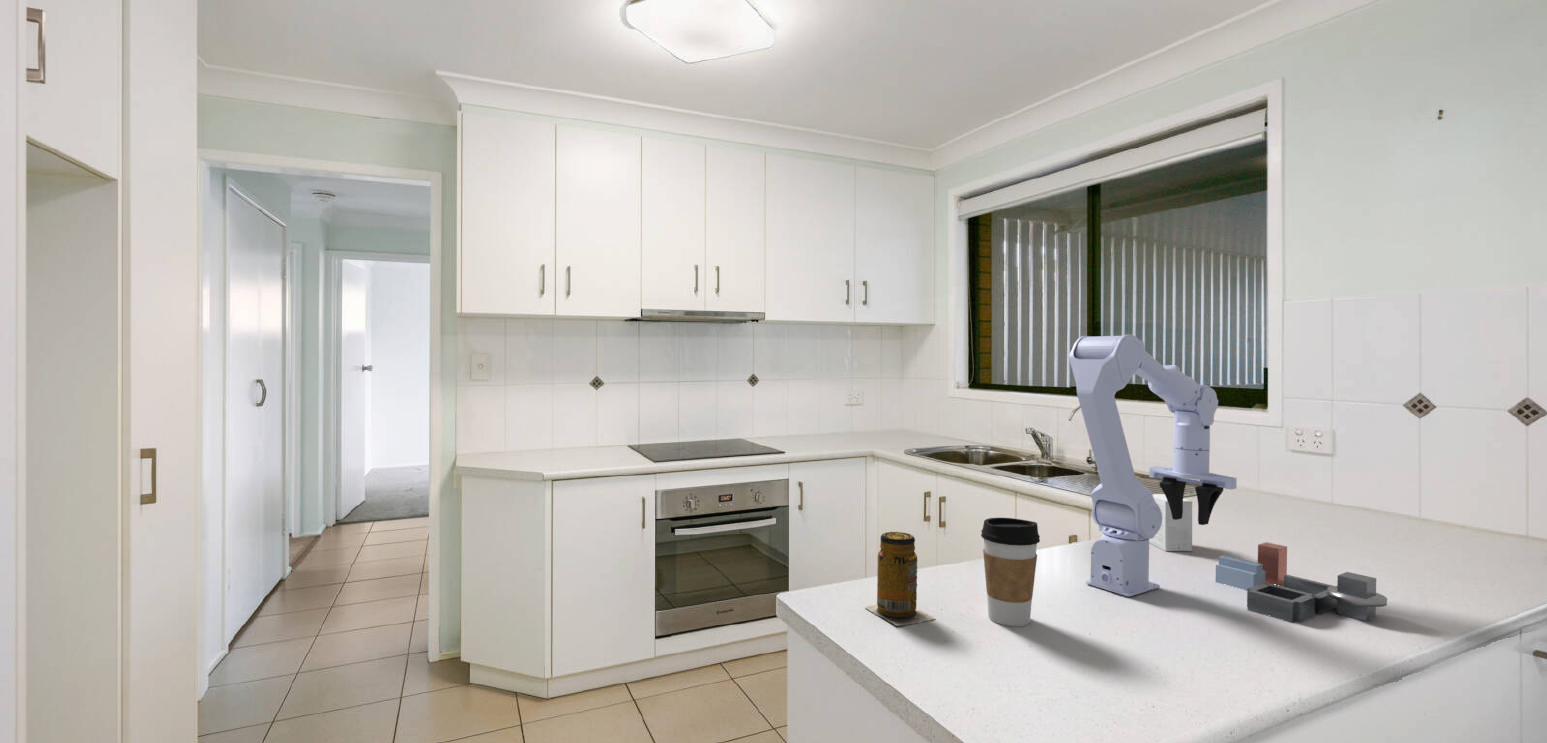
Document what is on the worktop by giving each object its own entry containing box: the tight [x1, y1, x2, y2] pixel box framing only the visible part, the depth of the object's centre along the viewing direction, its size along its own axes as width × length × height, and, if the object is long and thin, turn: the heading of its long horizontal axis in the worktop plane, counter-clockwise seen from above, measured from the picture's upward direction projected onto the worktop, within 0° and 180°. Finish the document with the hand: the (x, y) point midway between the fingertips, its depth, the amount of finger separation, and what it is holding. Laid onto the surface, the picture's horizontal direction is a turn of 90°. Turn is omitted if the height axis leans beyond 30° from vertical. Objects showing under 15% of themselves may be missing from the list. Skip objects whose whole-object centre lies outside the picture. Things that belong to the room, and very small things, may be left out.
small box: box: [1149, 493, 1193, 552], centre depth 142 cm, size 8×6×10 cm
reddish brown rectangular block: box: [1257, 542, 1288, 586], centre depth 120 cm, size 3×3×6 cm
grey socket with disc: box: [1246, 571, 1388, 623], centre depth 105 cm, size 17×14×6 cm
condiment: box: [864, 531, 936, 626], centre depth 103 cm, size 7×8×12 cm
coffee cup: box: [980, 517, 1041, 627], centre depth 101 cm, size 8×8×15 cm
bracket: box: [1215, 555, 1265, 591], centre depth 118 cm, size 4×6×4 cm, turn 30°
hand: (1190, 521), depth 125 cm, fingers open, 4 cm apart
